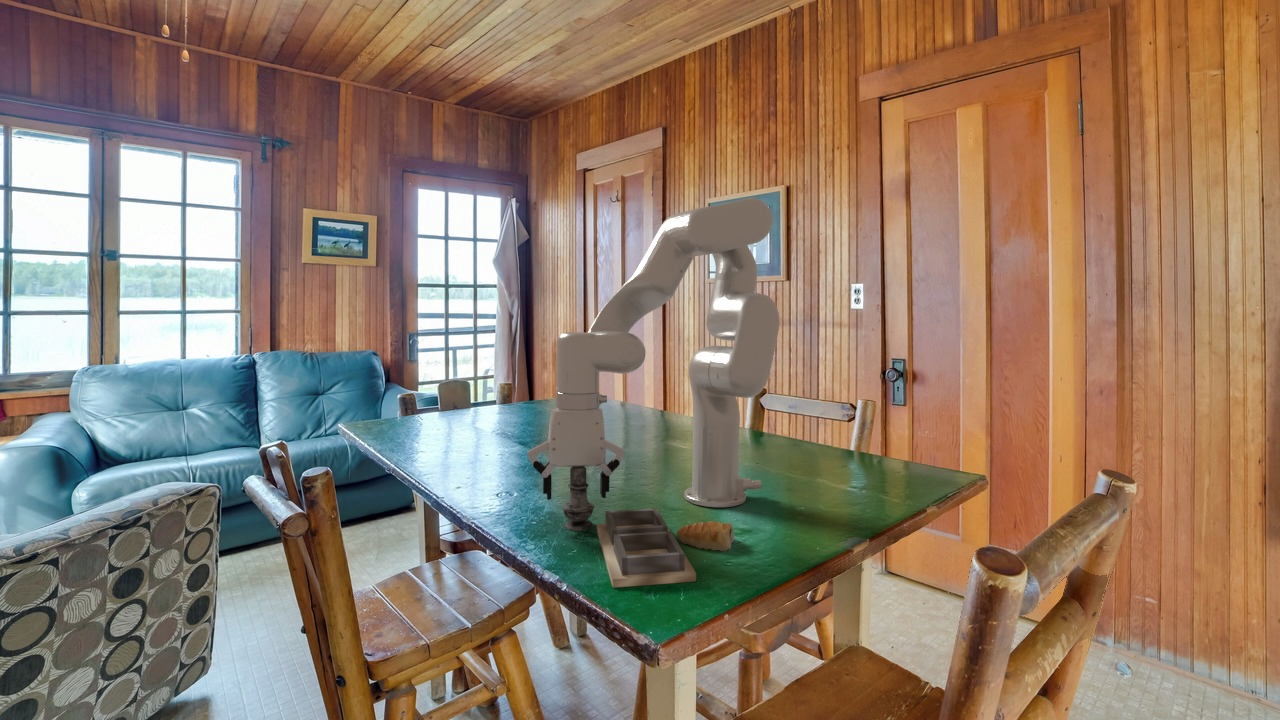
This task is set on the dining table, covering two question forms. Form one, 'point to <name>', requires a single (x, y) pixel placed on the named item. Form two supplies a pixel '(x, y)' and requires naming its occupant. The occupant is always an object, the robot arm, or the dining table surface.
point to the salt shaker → (578, 502)
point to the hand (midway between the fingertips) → (576, 496)
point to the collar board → (642, 550)
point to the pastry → (707, 535)
